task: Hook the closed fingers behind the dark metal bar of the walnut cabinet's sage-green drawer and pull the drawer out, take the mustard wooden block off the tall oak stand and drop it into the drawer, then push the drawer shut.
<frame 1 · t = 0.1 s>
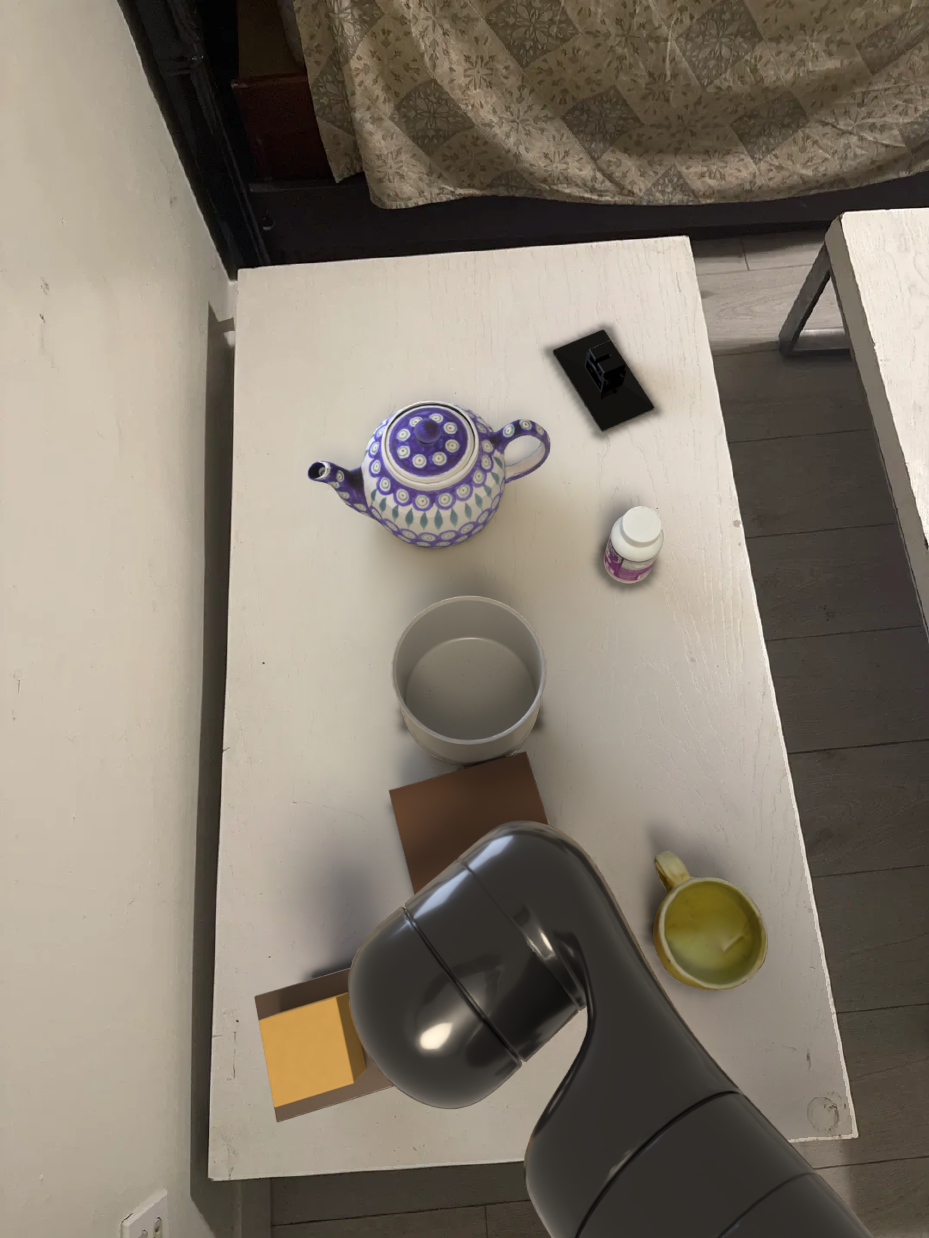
hand: (485, 948, 63), 20 cm above the table, tool pointing down, fingers open, 8 cm apart
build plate: (602, 381, 103), on the table
cabinet: (480, 862, 84), on the table
stand: (364, 1014, 80), on the table
block: (322, 1040, 59), point 22 cm above the table, touching stand
teapot: (436, 502, 98), on the table
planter: (471, 718, 89), on the table
pill bottle: (626, 563, 95), on the table
mug: (686, 918, 82), on the table
drawer: (496, 915, 78), point 5 cm above the table, slide at 1.0 cm
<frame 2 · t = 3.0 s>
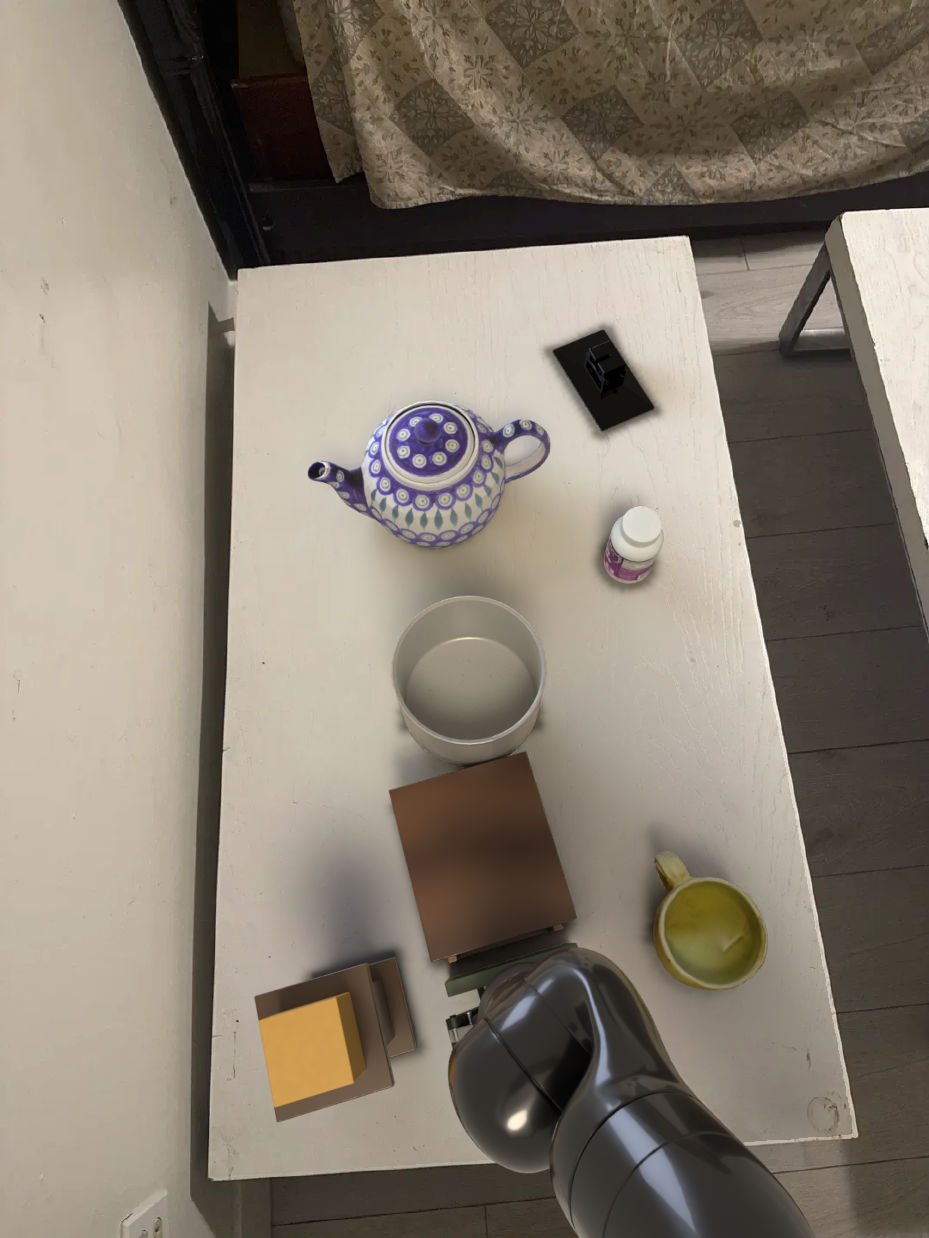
hand: (522, 1004, 75), 6 cm above the table, tool pointing down, fingers closed
drawer: (499, 924, 77), point 5 cm above the table, slide at 1.8 cm, touching gripper
everything else where it was.
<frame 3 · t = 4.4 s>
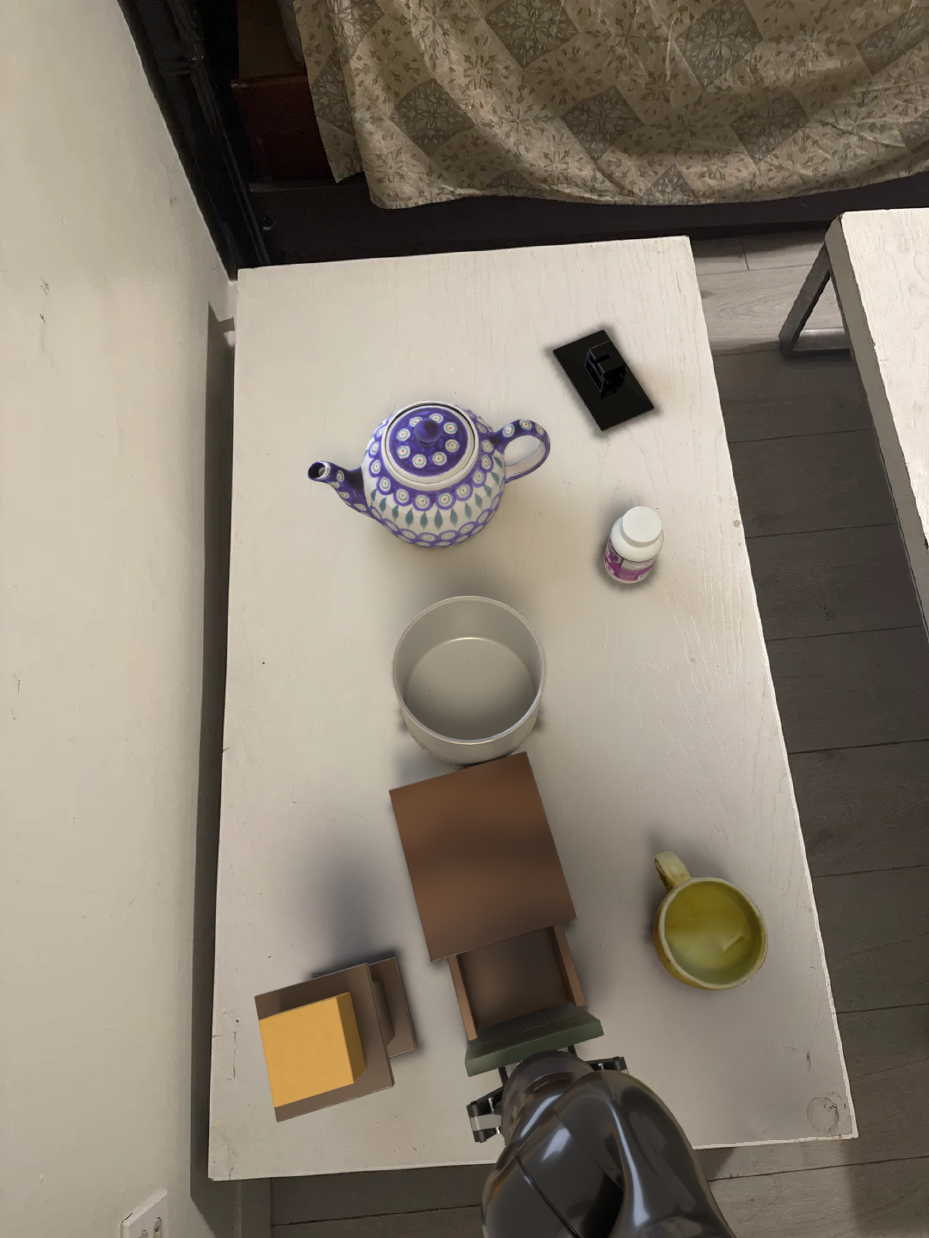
hand: (542, 1080, 73), 5 cm above the table, tool pointing down, fingers closed
drawer: (519, 996, 75), point 5 cm above the table, slide at 7.8 cm, touching gripper
everything else where it was.
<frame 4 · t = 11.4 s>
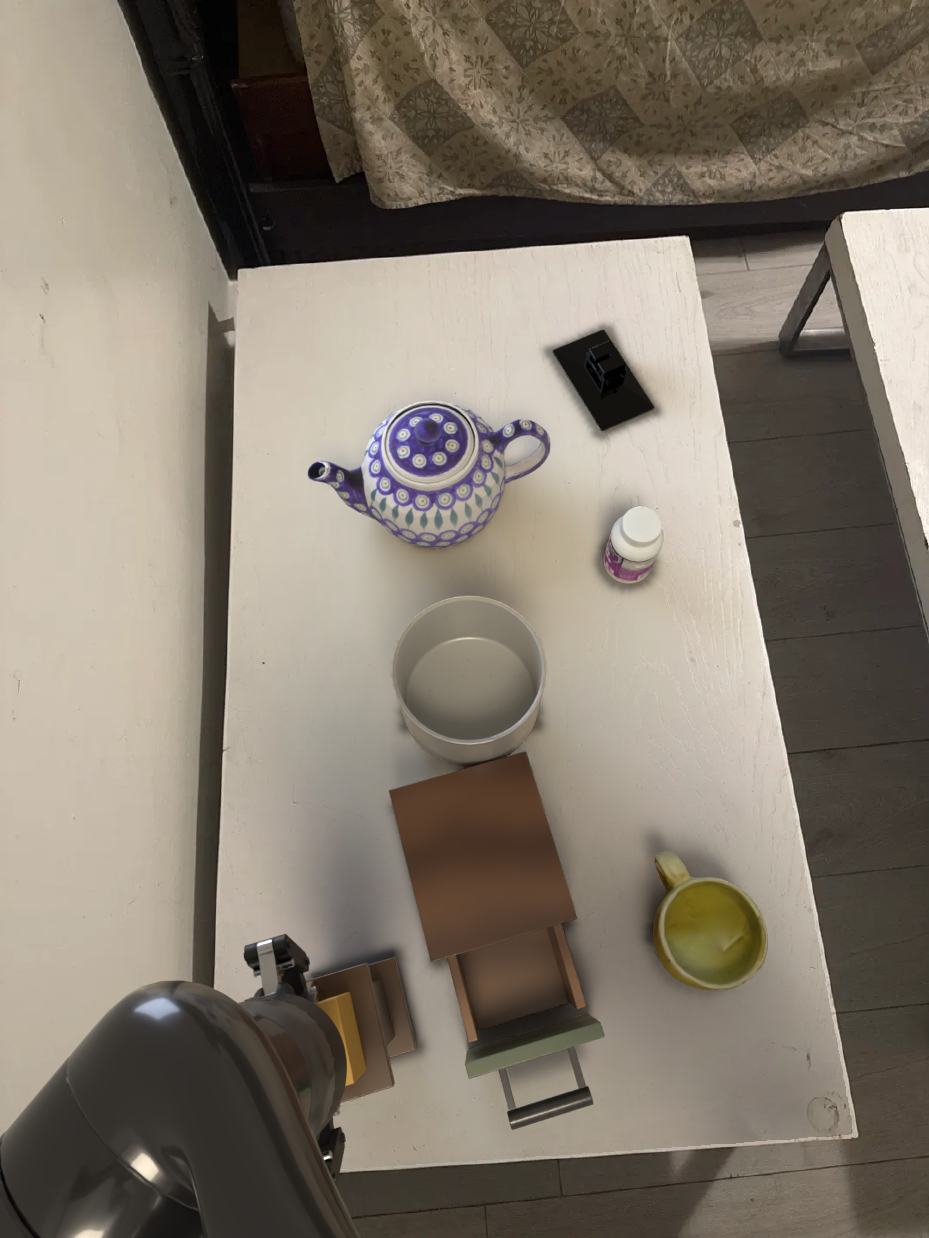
hand: (319, 1043, 58), 23 cm above the table, tool pointing down, fingers closed on block, 5 cm apart
block: (322, 1040, 59), point 22 cm above the table, touching gripper, stand
drawer: (519, 997, 75), point 5 cm above the table, slide at 8.0 cm
everything else where it was.
when the fingers open (8 cm above the table, at t = 20.9 s): block stays where it is, resting on drawer.
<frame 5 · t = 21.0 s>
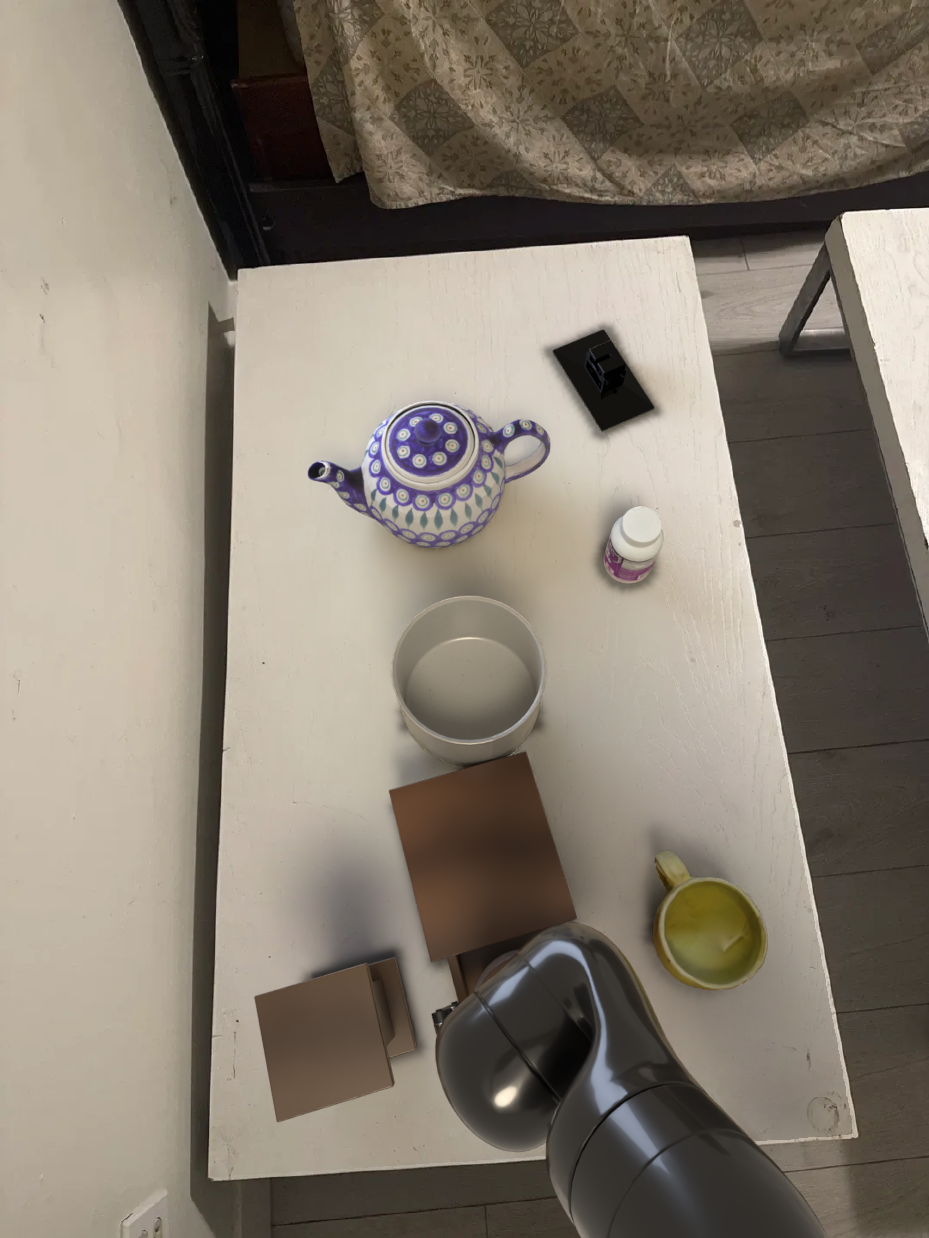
hand: (520, 997, 73), 8 cm above the table, tool pointing down, fingers open, 5 cm apart
block: (518, 993, 78), point 2 cm above the table, touching drawer
drawer: (520, 1002, 75), point 5 cm above the table, slide at 8.4 cm, touching block
everything else where it was.
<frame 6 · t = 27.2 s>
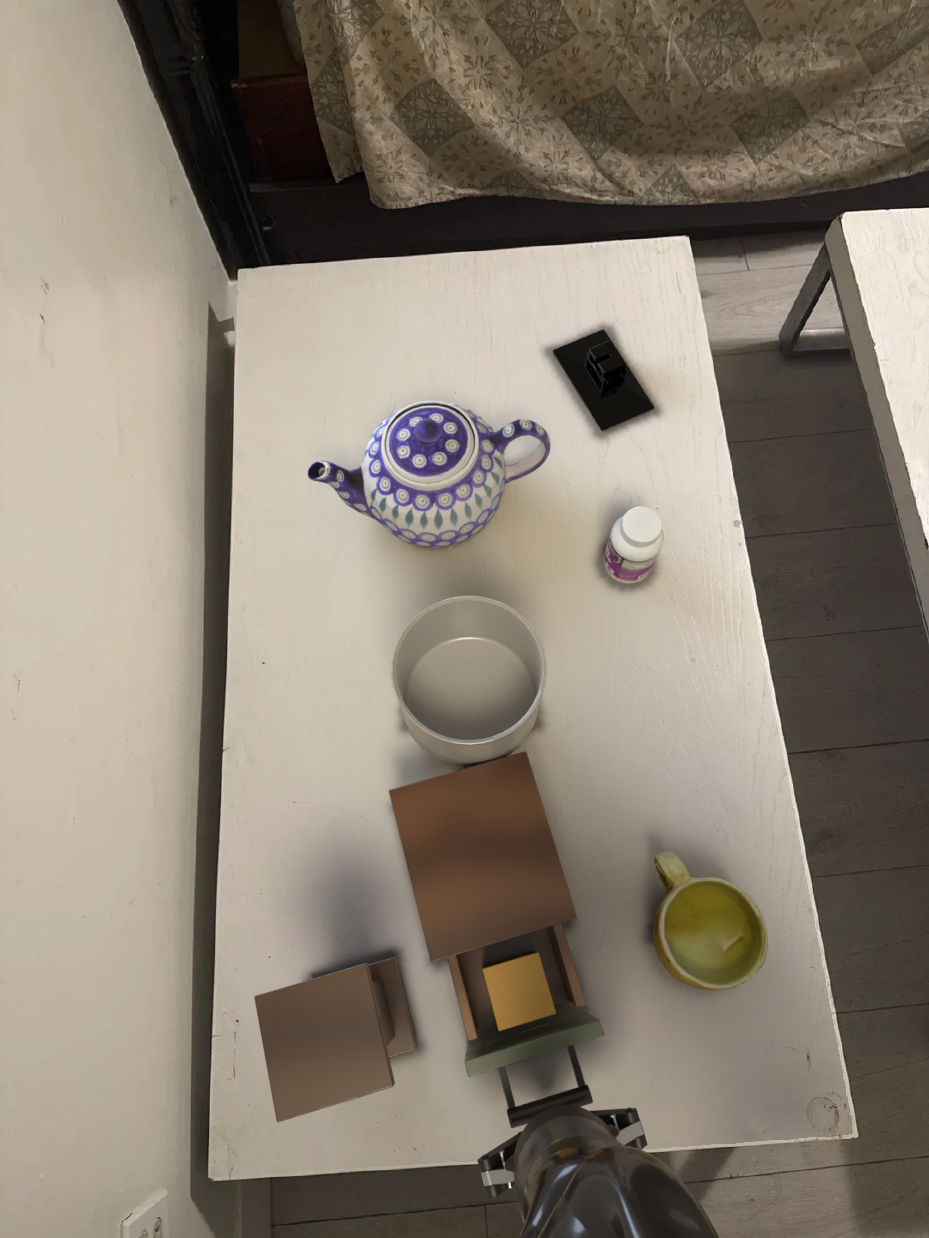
hand: (553, 1127, 72), 5 cm above the table, tool pointing down, fingers closed
drawer: (519, 996, 75), point 5 cm above the table, slide at 7.8 cm, touching block, gripper
everything else where it was.
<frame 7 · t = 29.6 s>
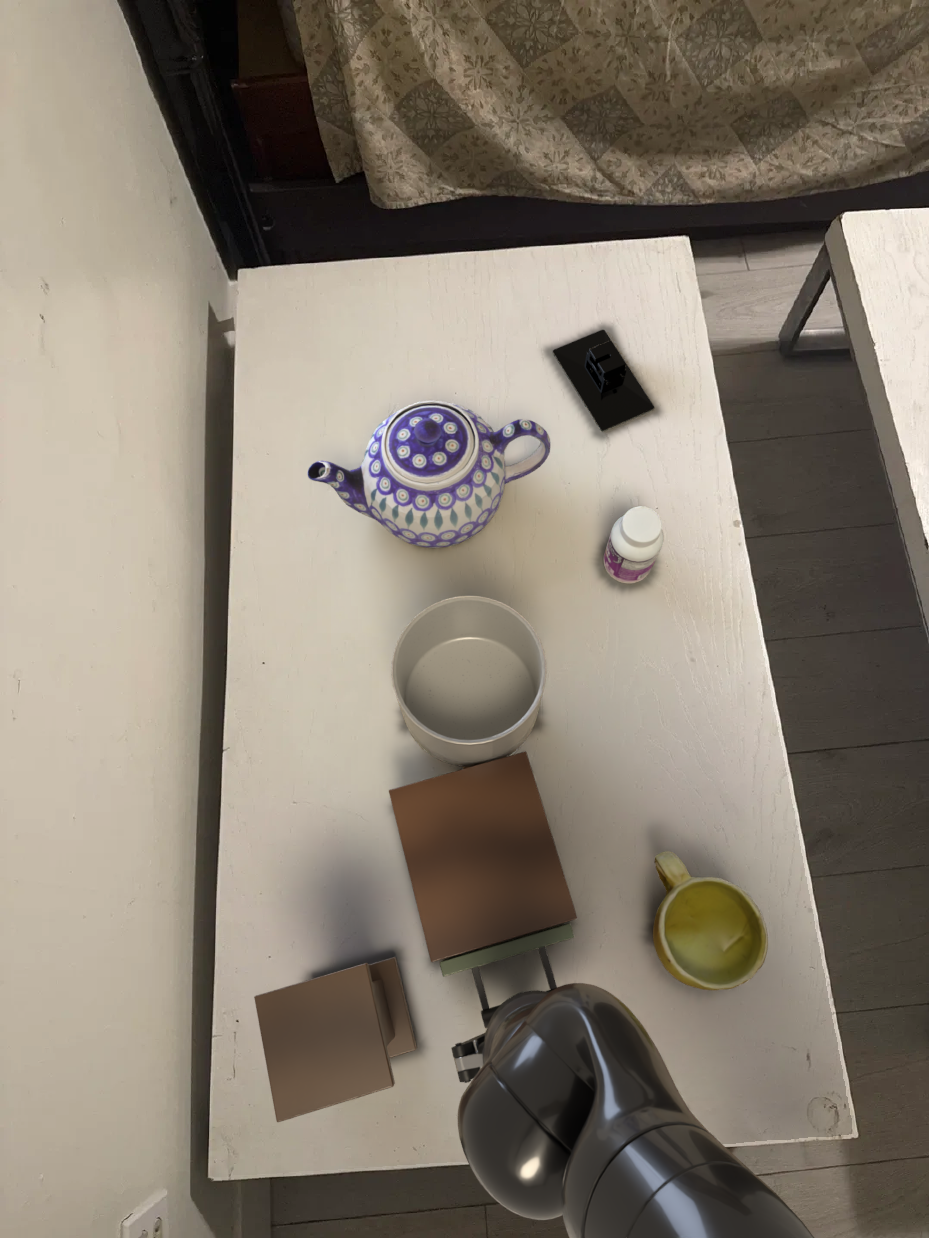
hand: (528, 1029, 75), 5 cm above the table, tool pointing down, fingers closed
block: (492, 900, 81), point 2 cm above the table, touching drawer
drawer: (494, 906, 78), point 5 cm above the table, slide at 0.2 cm, touching block
everything else where it was.
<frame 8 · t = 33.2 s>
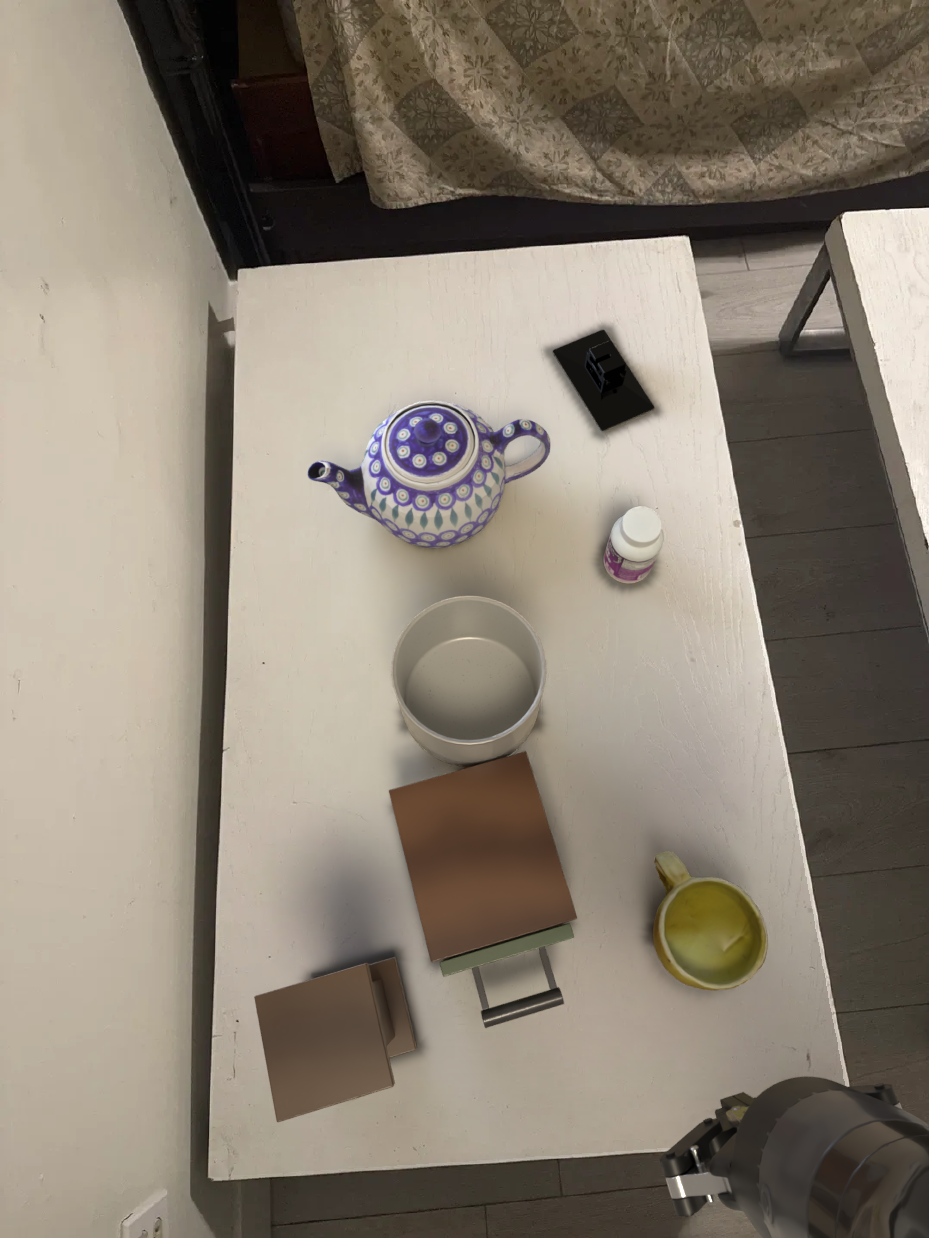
hand: (737, 1114, 51), 29 cm above the table, tool pointing down, fingers closed
nothing on the table moved.
at the end: drawer pulled out 8.5 cm at the most during the clip, back to 0.2 cm at the end; block inside the target area in the cabinet (3.8 cm from its centre), point 2.0 cm above the cabinet's base; drawer slide at 0.2 cm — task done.
